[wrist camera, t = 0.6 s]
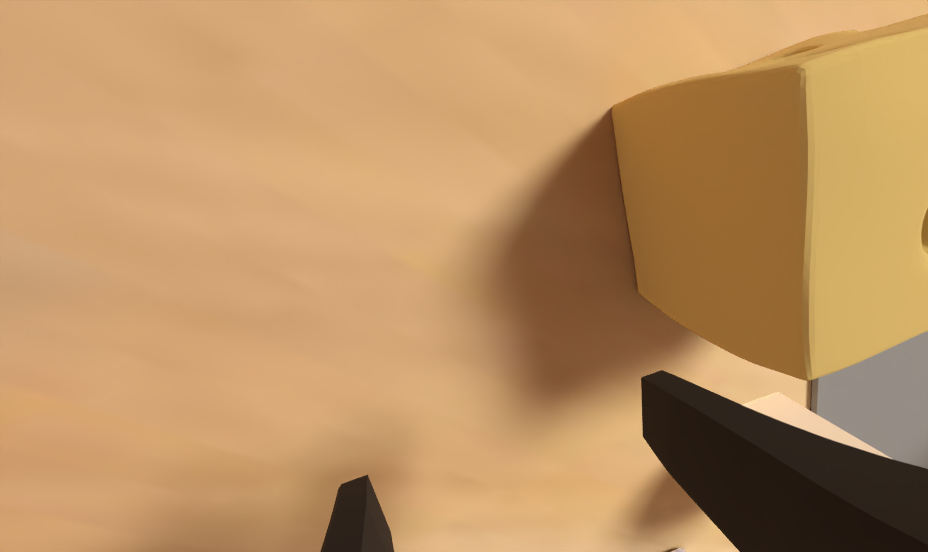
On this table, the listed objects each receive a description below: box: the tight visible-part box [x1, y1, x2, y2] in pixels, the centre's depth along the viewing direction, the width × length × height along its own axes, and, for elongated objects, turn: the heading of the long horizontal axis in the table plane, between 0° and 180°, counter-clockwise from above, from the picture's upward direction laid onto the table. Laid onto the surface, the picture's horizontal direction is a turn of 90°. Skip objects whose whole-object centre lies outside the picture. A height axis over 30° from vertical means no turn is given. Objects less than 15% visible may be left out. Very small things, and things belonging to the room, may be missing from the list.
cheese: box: [612, 14, 928, 381], centre depth 17 cm, size 10×11×10 cm
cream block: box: [742, 392, 892, 459], centre depth 24 cm, size 3×5×8 cm, turn 103°
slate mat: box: [811, 331, 928, 469], centre depth 29 cm, size 22×14×1 cm, turn 13°
